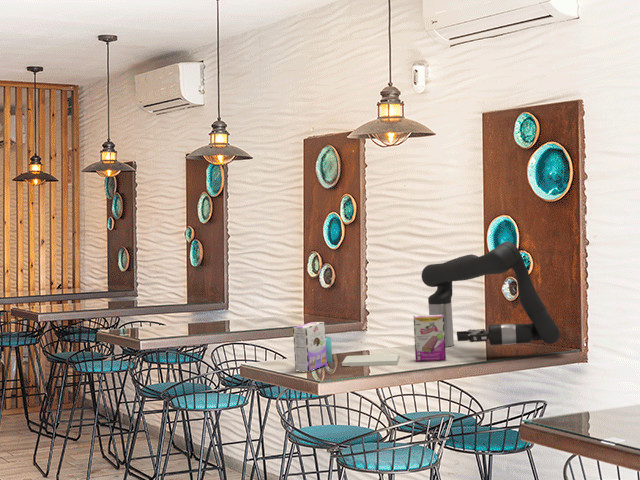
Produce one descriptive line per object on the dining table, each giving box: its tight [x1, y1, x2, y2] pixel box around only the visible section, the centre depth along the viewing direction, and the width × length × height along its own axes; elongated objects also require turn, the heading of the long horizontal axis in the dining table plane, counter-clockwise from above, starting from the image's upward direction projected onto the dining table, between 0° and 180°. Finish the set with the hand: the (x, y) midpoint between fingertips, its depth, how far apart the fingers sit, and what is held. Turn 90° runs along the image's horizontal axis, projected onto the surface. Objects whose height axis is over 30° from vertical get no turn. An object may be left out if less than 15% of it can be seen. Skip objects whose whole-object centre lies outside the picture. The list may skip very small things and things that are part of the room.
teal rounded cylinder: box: [326, 336, 333, 363], centre depth 315 cm, size 7×7×9 cm
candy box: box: [292, 321, 328, 371], centre depth 301 cm, size 14×6×16 cm, turn 150°
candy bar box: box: [413, 314, 447, 362], centre depth 303 cm, size 11×5×16 cm, turn 84°
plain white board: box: [341, 353, 400, 367], centre depth 306 cm, size 14×20×2 cm
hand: (457, 336), depth 301 cm, fingers open, 8 cm apart
